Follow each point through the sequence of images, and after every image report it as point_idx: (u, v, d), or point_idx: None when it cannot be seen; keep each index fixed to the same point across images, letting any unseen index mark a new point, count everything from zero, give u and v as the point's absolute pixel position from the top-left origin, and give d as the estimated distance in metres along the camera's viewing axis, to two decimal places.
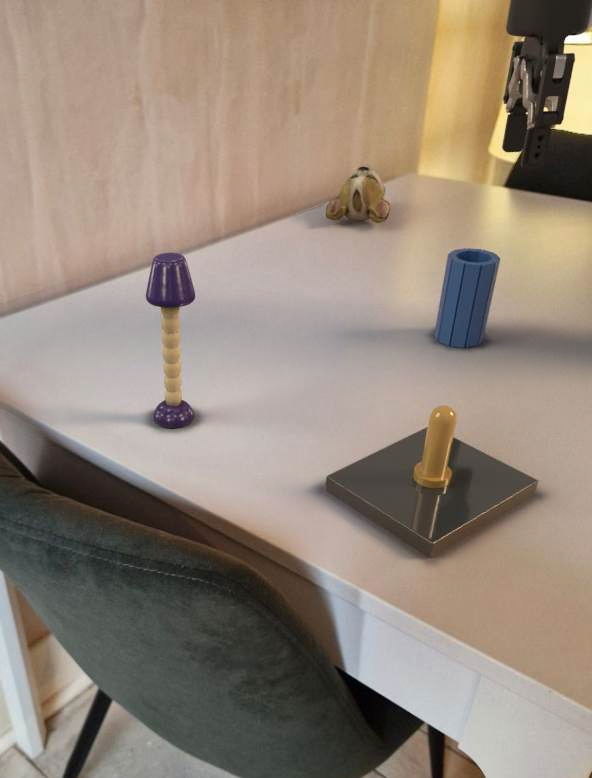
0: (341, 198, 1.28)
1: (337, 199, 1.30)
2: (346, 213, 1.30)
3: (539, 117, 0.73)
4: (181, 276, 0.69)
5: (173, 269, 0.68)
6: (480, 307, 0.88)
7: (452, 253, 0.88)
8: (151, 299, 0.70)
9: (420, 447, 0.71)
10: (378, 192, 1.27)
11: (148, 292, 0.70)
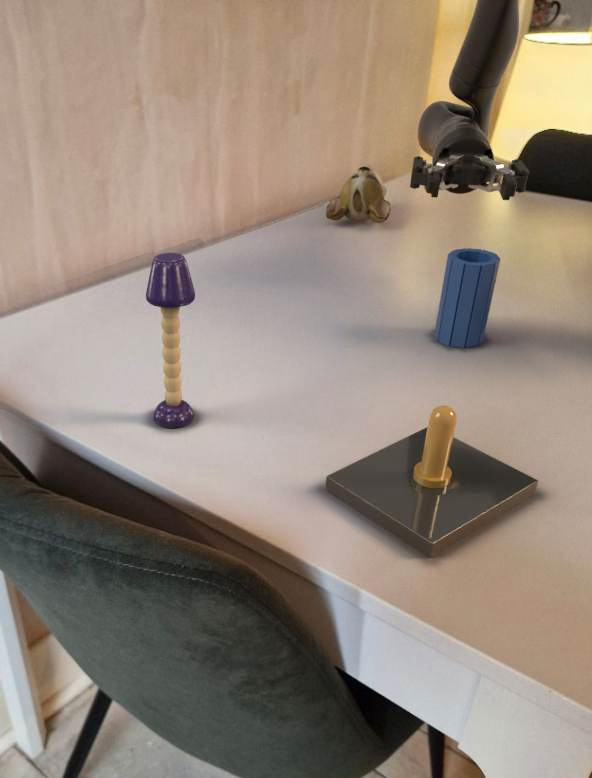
0: (342, 198, 1.28)
1: (337, 199, 1.30)
2: (347, 213, 1.30)
3: (410, 184, 0.99)
4: (181, 276, 0.69)
5: (173, 269, 0.68)
6: (480, 307, 0.88)
7: (452, 253, 0.88)
8: (151, 299, 0.70)
9: (420, 447, 0.71)
10: (378, 192, 1.27)
11: (148, 292, 0.70)
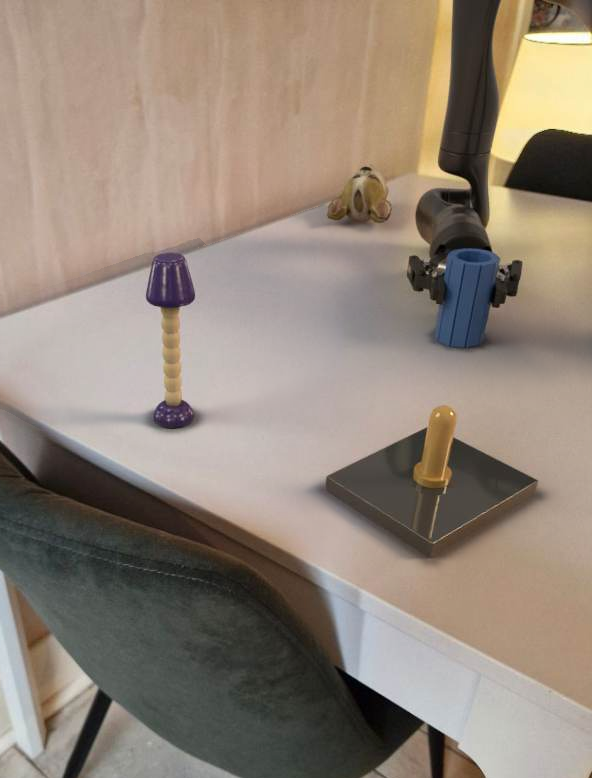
0: (343, 198, 1.28)
1: (339, 199, 1.30)
2: (348, 213, 1.30)
3: (413, 287, 0.93)
4: (181, 276, 0.69)
5: (173, 269, 0.68)
6: (480, 307, 0.88)
7: (452, 253, 0.88)
8: (151, 299, 0.70)
9: (420, 447, 0.71)
10: (380, 192, 1.27)
11: (148, 292, 0.70)
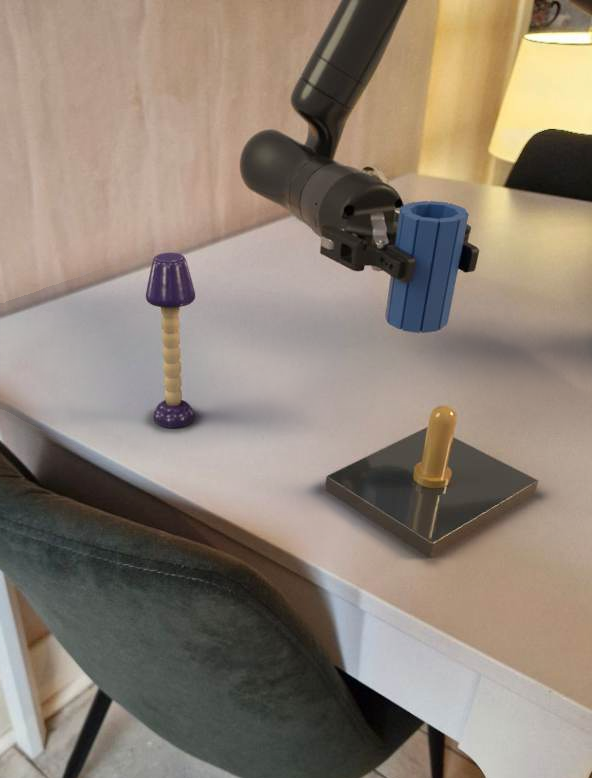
0: None
1: None
2: None
3: (351, 267, 0.69)
4: (181, 276, 0.69)
5: (173, 269, 0.68)
6: (453, 275, 0.67)
7: (406, 212, 0.65)
8: (151, 299, 0.70)
9: (420, 447, 0.71)
10: None
11: (148, 292, 0.70)
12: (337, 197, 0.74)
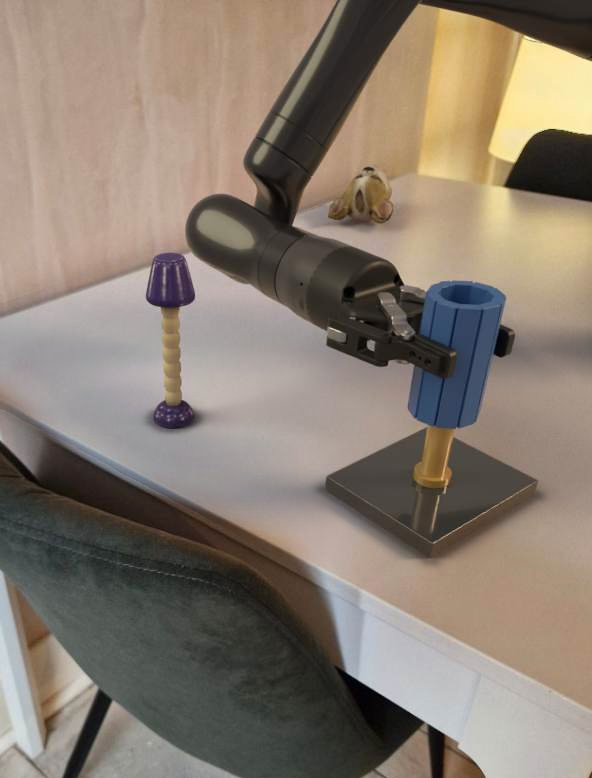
0: (345, 198, 1.28)
1: (341, 199, 1.30)
2: (350, 213, 1.30)
3: (373, 362, 0.59)
4: (181, 276, 0.69)
5: (173, 269, 0.68)
6: (490, 362, 0.59)
7: (437, 298, 0.56)
8: (151, 299, 0.70)
9: (420, 447, 0.71)
10: (382, 193, 1.27)
11: (148, 292, 0.70)
12: (331, 277, 0.65)
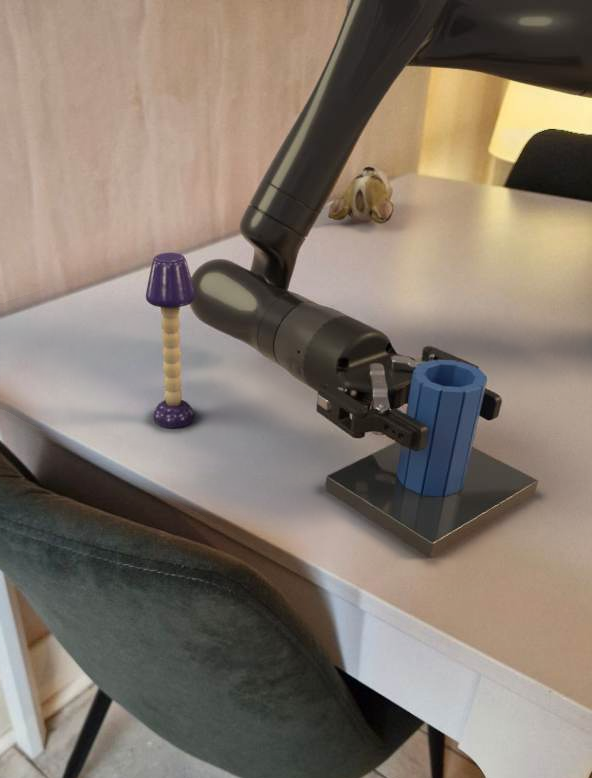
0: (345, 198, 1.28)
1: (341, 199, 1.30)
2: (350, 213, 1.30)
3: (351, 433, 0.63)
4: (181, 276, 0.69)
5: (173, 269, 0.68)
6: (473, 436, 0.63)
7: (423, 380, 0.60)
8: (151, 299, 0.70)
9: None
10: (382, 193, 1.27)
11: (148, 292, 0.70)
12: (326, 348, 0.68)
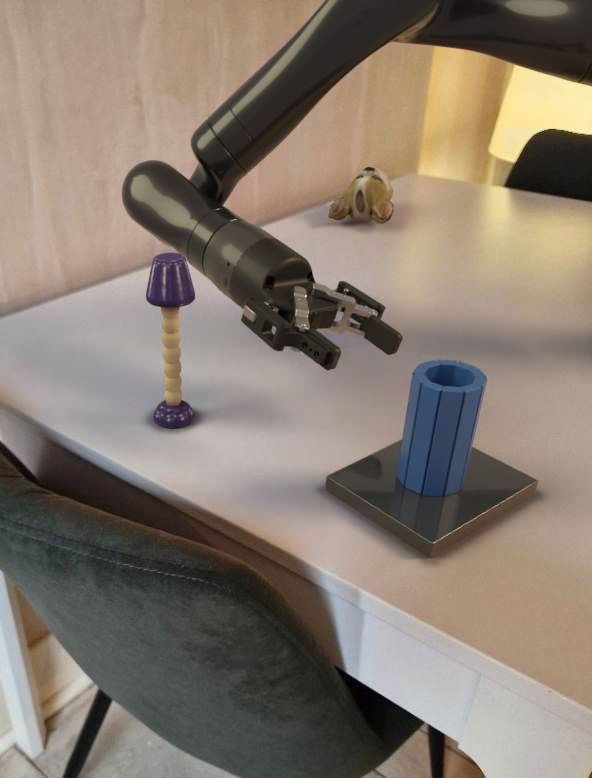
0: (345, 198, 1.28)
1: (342, 199, 1.30)
2: (350, 214, 1.30)
3: (271, 346, 0.69)
4: (181, 276, 0.69)
5: (173, 269, 0.68)
6: (473, 436, 0.63)
7: (423, 380, 0.60)
8: (151, 299, 0.70)
9: None
10: (382, 193, 1.27)
11: (148, 292, 0.70)
12: (256, 264, 0.73)
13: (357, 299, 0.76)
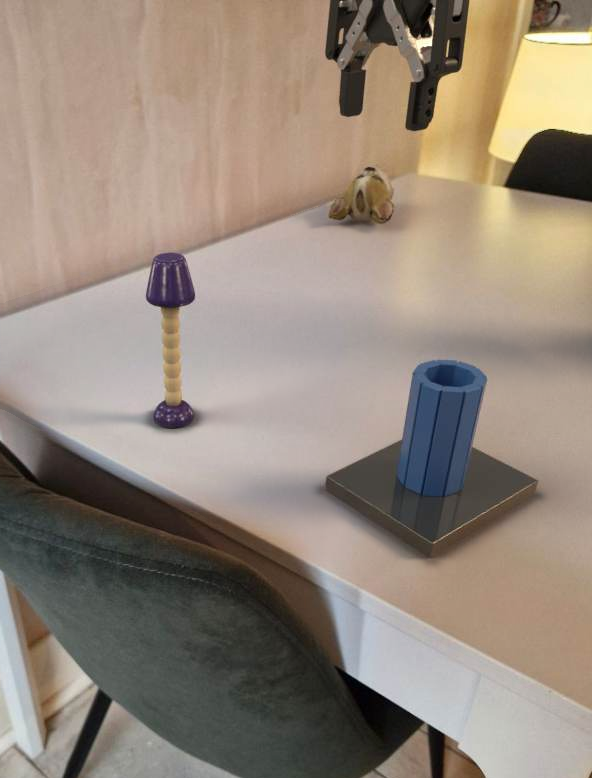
0: (346, 198, 1.28)
1: (342, 199, 1.30)
2: (351, 213, 1.30)
3: (442, 64, 0.61)
4: (181, 276, 0.69)
5: (173, 269, 0.68)
6: (473, 436, 0.63)
7: (423, 380, 0.60)
8: (151, 299, 0.70)
9: None
10: (382, 193, 1.27)
11: (148, 292, 0.70)
12: None
13: (354, 22, 0.69)
